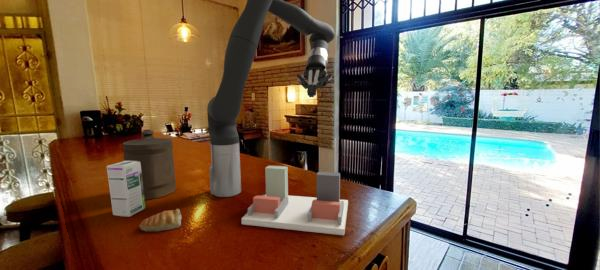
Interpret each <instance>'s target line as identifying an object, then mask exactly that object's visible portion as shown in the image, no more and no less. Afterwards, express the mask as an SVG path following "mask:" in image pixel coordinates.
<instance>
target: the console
mask: <svg viewBox="0 0 600 270" xmlns="http://www.w3.org/2000/svg"><path fill="white" fill-rule="evenodd" d="M348 206H349V200H348V199H341V198H340V202H332V201H320V200H317V197H312V196H301V195H289V194H288V197H285V198H284V199H283V201H282V202H280V197H270V196H266V194H261V195H255V196H254V197H252V204H250V206H249V207H248V208H247V212H246V213H245V214H244V216H242V217H241V225H245V226H254V227H255V226H256V227H262V228H263V227H264V228H272V229H273V228H274V229H283V230H289V231H290V230H291V231H292V230H293V231H300V232H301V231H302V232H311V233H320V234H328V235H337V236H345V232H346V225H347V215H348V208H349V207H348Z"/></svg>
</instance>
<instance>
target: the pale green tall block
mask: <svg viewBox="0 0 600 270" xmlns="http://www.w3.org/2000/svg"><path fill="white" fill-rule="evenodd" d="M264 169H265V171H264V172H265V195H266V196H270V197H280V202H282V201H283V199H284V198H285V197H288V195H289V178H288V177H289V176H288V173H289V171H288V170H289V169H288V166H284V165H267V166H266V167H265V168H264Z"/></svg>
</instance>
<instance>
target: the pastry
mask: <svg viewBox="0 0 600 270" xmlns="http://www.w3.org/2000/svg"><path fill="white" fill-rule="evenodd" d="M181 225H182V214H181V211H180V208H176V209H174V210H173V209H172V210H171V209H170V210H164V211H162V212H158V213H156V214H154V215H151V216H150V217H147V218H145V219H143V220H142V221H141V223H139V229H140V230H141V231H142V232H143V231H144V232H161V231H169V230H174V229H177V228H180V226H181Z"/></svg>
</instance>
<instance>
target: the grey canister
mask: <svg viewBox="0 0 600 270" xmlns="http://www.w3.org/2000/svg"><path fill="white" fill-rule="evenodd" d="M154 133H155V132H154V131H153V130H151V129H144V130H142V132H141V135H142V137H141V138H140V139H133V140H132V139H131V140H127V141H124V142H122V151H123V161H140V163H141V172H142V181H143V190H144V198H145V200H147V201H148V200H153V199H159V198H162V197H165V196H168V195H171V194H172V193H174V192H176V190H177V185H176V171H175V163H174V151H173V139H172V138H167V137H166V138H165V137H155V136H154Z"/></svg>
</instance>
